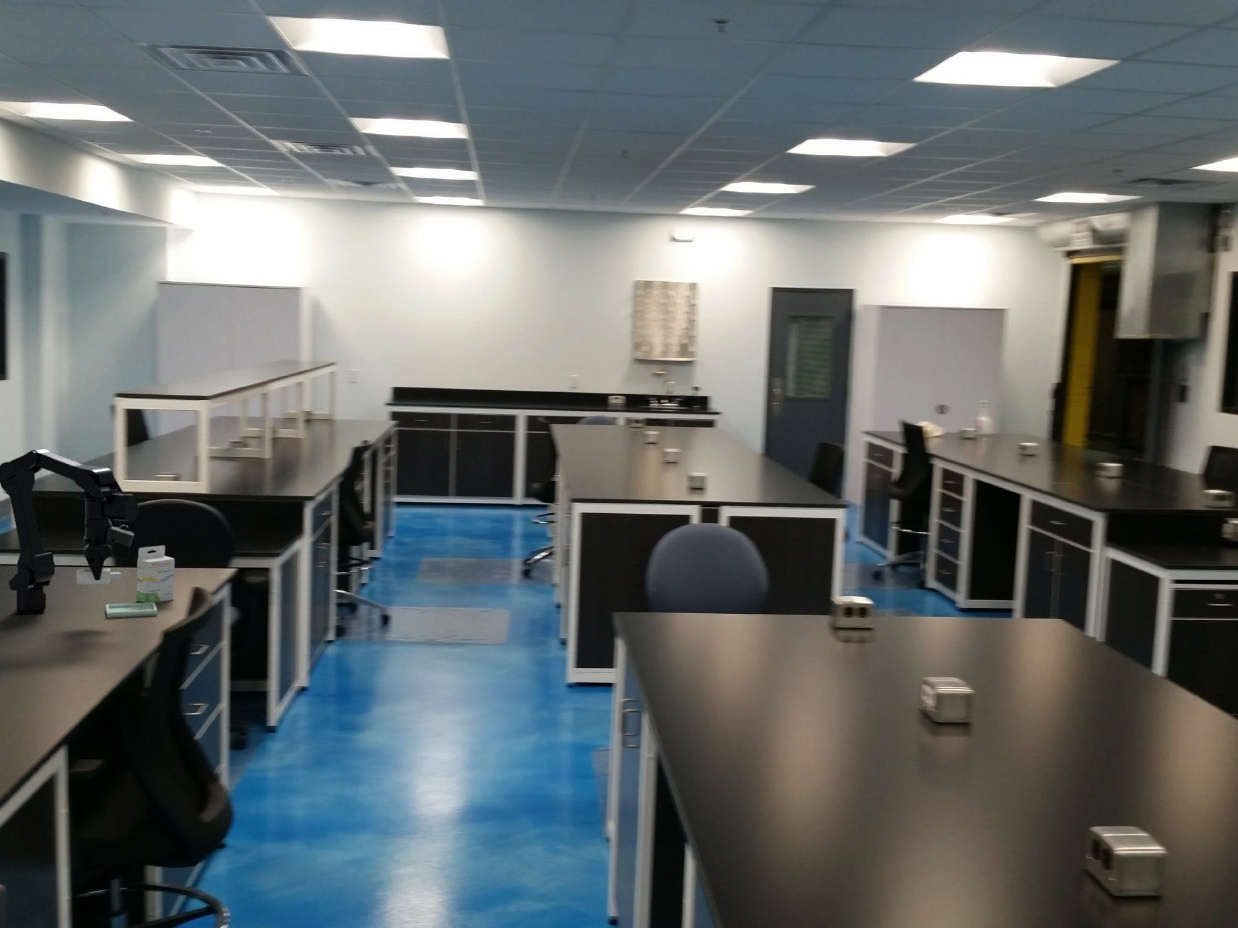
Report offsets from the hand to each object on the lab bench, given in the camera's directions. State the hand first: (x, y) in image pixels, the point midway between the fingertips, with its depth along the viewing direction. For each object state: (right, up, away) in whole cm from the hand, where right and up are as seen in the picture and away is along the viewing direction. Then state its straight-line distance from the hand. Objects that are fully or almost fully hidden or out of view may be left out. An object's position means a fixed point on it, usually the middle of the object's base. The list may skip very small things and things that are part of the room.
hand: (97, 578), depth 301 cm
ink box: (+5, -9, +26) cm, 28 cm away
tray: (+4, -10, +11) cm, 16 cm away
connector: (0, -1, 0) cm, 1 cm away
